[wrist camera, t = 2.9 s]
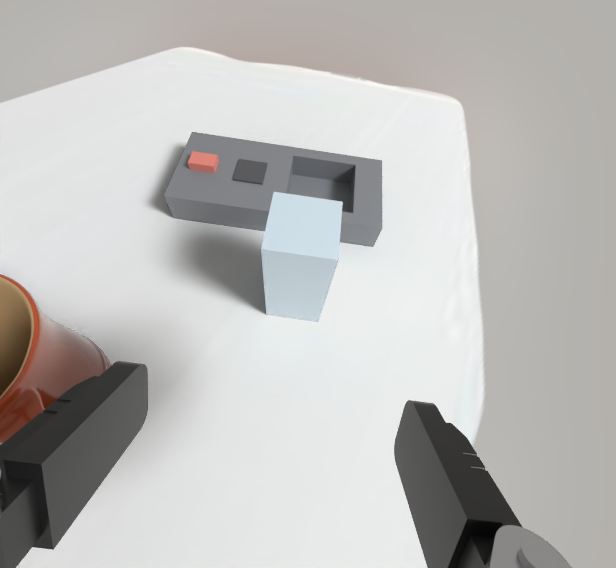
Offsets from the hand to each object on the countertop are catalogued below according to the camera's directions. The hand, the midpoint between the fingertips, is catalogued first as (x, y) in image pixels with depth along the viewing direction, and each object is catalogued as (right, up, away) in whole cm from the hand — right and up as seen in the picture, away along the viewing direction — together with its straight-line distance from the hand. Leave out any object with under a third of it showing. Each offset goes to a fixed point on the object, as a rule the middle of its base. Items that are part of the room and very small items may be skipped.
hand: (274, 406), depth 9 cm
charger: (0, +3, +18) cm, 18 cm away
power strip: (-2, +13, +23) cm, 27 cm away
